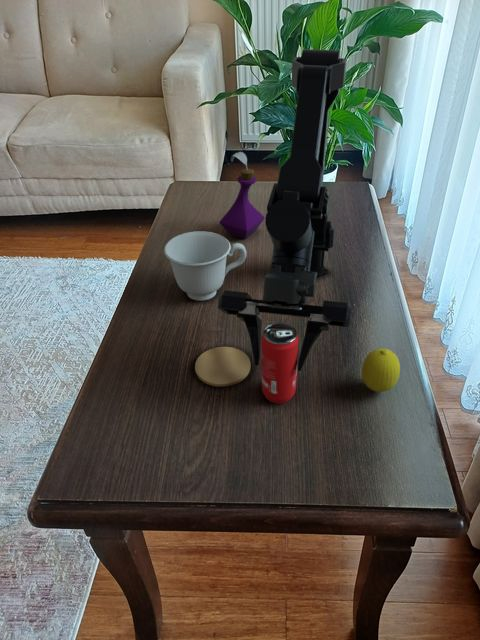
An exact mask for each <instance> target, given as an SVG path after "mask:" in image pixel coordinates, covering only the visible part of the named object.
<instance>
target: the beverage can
mask: <svg viewBox="0 0 480 640" xmlns="http://www.w3.org/2000/svg"><path fill="white" fill-rule="evenodd" d="M299 340H300V339H299V334H298V330H297V329H296V328H295V327H294V326H293V325H292V324H289V323H286V322H274V323H270V324H269V325H267V326H266V327H264V329H263V332H262V333H261V391H262V393H263V395H264V397H265V399H266V400H267V401H268V402H270V403H273V404H277V405H282V404H285V403H288V402H290V401H291V400H292V399H293V397H294V395H295V393H296V391H297V380H298V379H297V378H298V375H297V374H298V360H299V358H298V356H299Z"/></svg>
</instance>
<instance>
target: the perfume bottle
mask: <svg viewBox="0 0 480 640" xmlns="http://www.w3.org/2000/svg"><path fill="white" fill-rule="evenodd" d="M234 158H236V159H238V160H239V161H240V162H241V163H243V164H244V165H245V168H244V169H241V170H240V171H239V172H240V173H239V174H240V175H239V176H238V177H237V178H236V181H237V183H239V184H240V188H239V191H238V194H237V196H236V198H235V200H234V202H233V204H232V205H231V207H230V208H229V209H228V210H227V212H226V213H225V214H224V215H223V217H221V219H220V221H219V224H220V226H222V228H224V230H225V231H226V232H228V234H229V235H230V236H234V237H237V238H240V239H244V240H245V239H248V237H250V236H252V234H254V233H255V232H256V231H257V230H258V228H259V227H260V225H262V223H263V222H264V221H265V218H266V216H265V215H263V214H262V213H261V212H260V211H259V210H258V209H257V208H256V207H254V206H253V204H252V203H251V202H250V200H249V192H250V189H251V186H252V185H254V184H256V182H257V177H256V176H254V175H255V170H254V169H252V168H248V158H247V155H246V154H245V153H244V152H242V151H238V152H235V153H234V154H232V155H231V157H230V162H231V163H233V162H234Z"/></svg>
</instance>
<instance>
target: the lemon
mask: <svg viewBox="0 0 480 640" xmlns="http://www.w3.org/2000/svg"><path fill="white" fill-rule="evenodd" d="M400 374H401V363H400V360H399V357H398V355H396V353H395V352H394V351H392V350H391V349H388V348H383V347H382V348H376V349H374V350H372V351H370V352H369V353H368V354H367V356H366V358H364V361H363V363H362V367H361V377H362V380H363V383H364V385H365V386H366V387H367V388H368V389H370V390H371V391H373V392H378V393H384V392H387V391H390V390H391V389H393V388H394V386H395V385H396V384H397V382H398V380H399V378H400Z"/></svg>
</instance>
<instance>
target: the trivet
mask: <svg viewBox="0 0 480 640" xmlns="http://www.w3.org/2000/svg"><path fill="white" fill-rule="evenodd" d="M251 366H252V365H251V360H250V358H249V356H248V354H246V353H245V352H244V351H242V350H241V349H239V348H236V347H231V346H218V347H213V348H210V349H207V350H206V351H204V352H203V353H201V354H200V355H199V356H198V357H197V359H196V361H195V363H194V371H195V374H196V376H197V378H198V379H199V381H202V382H203V384H207V385H209V386H212V387H220V388H222V387H224V388H225V387H230V386H235V385H236V384H239V383H240V382H242V381H243V380H245V379H246V378H247V377H248V375H249V374H250V372H251V369H252V368H251Z"/></svg>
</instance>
